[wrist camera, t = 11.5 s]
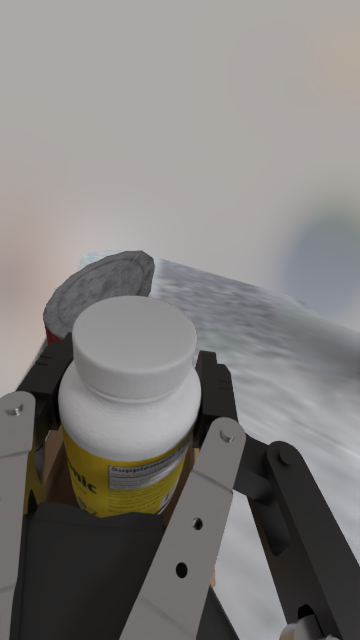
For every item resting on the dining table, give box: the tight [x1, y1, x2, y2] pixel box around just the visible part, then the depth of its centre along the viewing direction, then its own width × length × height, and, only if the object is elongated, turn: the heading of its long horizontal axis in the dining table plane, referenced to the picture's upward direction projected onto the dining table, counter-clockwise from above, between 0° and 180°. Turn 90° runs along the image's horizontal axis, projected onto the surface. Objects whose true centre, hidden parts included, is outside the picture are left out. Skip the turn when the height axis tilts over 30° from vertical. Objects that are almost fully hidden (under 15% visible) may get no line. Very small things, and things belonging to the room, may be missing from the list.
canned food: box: [43, 251, 155, 346], centre depth 25 cm, size 11×10×10 cm
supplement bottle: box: [58, 296, 202, 518], centre depth 12 cm, size 5×5×10 cm
